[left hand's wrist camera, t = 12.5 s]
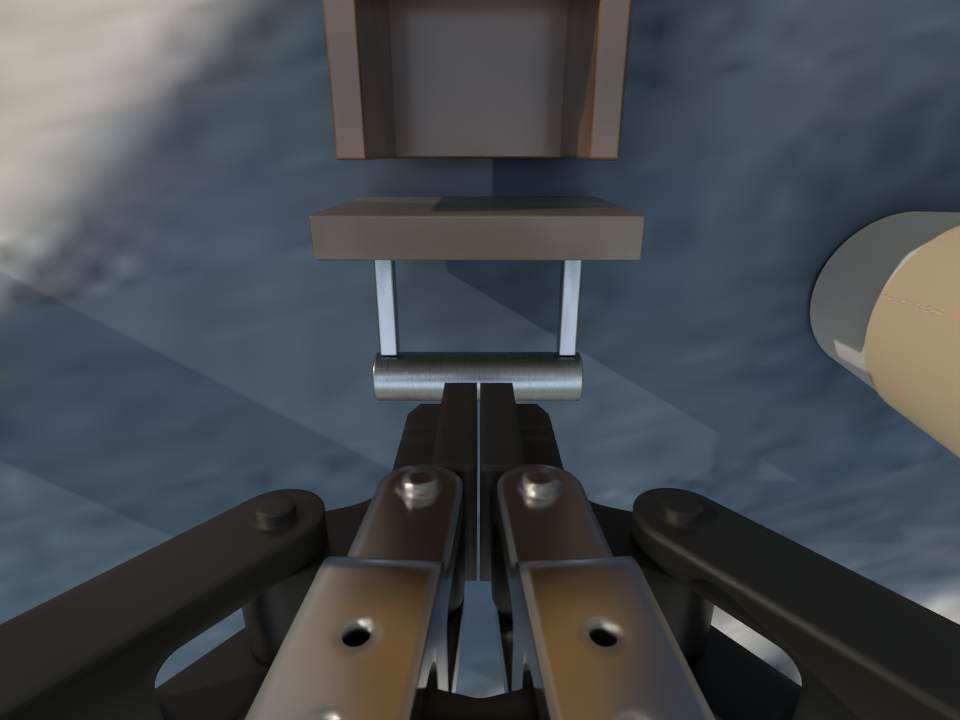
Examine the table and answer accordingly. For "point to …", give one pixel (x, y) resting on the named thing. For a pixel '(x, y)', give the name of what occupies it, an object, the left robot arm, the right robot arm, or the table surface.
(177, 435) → the table surface
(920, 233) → the coffee cup
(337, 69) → the drawer
